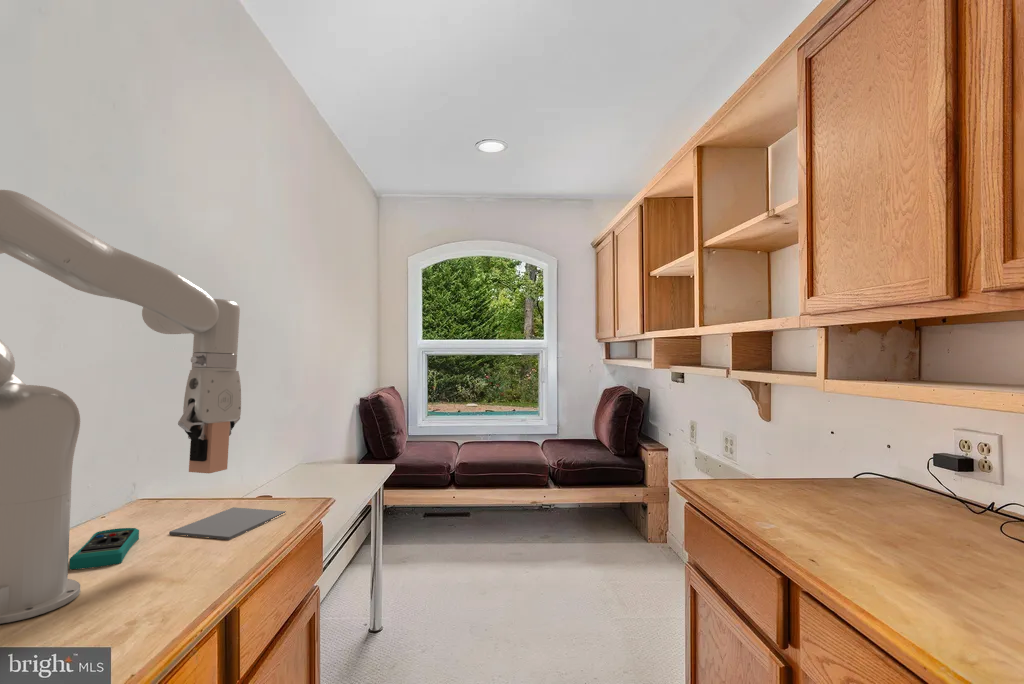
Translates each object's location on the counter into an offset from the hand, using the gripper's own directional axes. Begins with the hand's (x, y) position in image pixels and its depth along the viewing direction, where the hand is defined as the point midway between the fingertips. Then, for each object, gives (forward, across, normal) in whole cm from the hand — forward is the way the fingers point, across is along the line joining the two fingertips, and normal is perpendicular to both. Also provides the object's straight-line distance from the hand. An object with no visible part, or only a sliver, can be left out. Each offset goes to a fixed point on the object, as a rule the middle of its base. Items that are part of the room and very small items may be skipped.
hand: (209, 457), depth 99 cm
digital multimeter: (+18, -6, +15) cm, 24 cm away
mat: (+17, +14, +6) cm, 23 cm away
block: (+2, 0, 0) cm, 2 cm away
